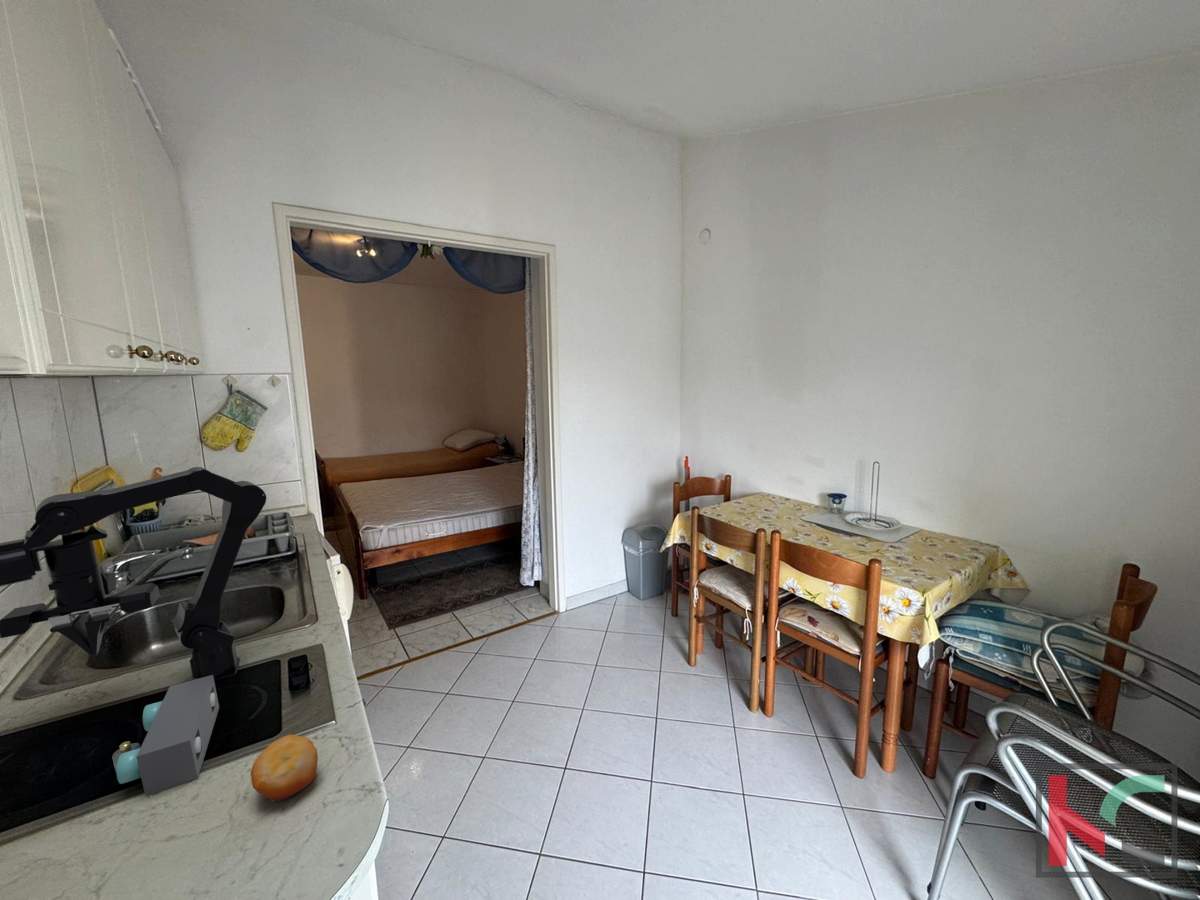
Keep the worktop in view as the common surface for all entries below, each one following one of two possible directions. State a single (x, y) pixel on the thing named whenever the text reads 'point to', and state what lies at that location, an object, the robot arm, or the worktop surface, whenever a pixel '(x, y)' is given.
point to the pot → (124, 748)
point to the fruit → (284, 767)
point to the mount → (178, 736)
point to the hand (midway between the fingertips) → (94, 653)
